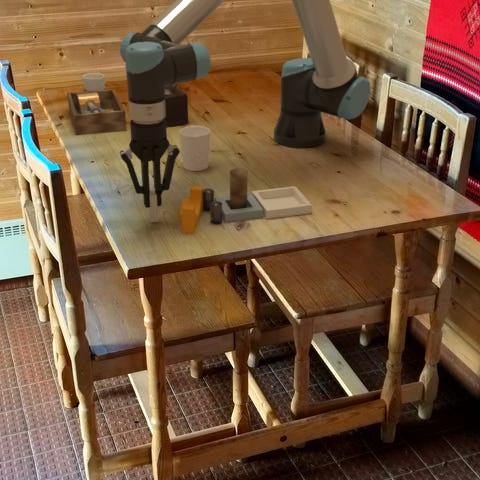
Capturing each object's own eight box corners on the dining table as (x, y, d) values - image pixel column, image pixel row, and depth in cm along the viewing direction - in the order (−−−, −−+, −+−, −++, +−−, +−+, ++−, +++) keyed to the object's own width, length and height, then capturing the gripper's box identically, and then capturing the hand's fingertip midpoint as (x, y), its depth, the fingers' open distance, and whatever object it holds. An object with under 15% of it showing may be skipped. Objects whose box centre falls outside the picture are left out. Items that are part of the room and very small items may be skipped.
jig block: (251, 203, 174) (251, 193, 173) (262, 219, 166) (263, 209, 165) (214, 207, 172) (214, 197, 170) (225, 224, 164) (225, 214, 163)
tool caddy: (115, 107, 237) (114, 89, 234) (126, 130, 217) (125, 111, 215) (69, 111, 233) (67, 92, 230) (75, 135, 214) (73, 115, 211)
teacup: (107, 93, 250) (106, 78, 247) (85, 95, 248) (83, 79, 245) (103, 85, 258) (102, 70, 255) (81, 87, 256) (80, 72, 253)
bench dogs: (212, 207, 172) (212, 187, 169) (223, 225, 164) (223, 205, 161) (201, 208, 171) (201, 189, 169) (212, 226, 163) (211, 206, 161)
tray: (294, 195, 178) (295, 186, 176) (311, 215, 168) (311, 205, 167) (251, 201, 175) (252, 191, 174) (266, 221, 166) (266, 210, 164)
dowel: (244, 206, 171) (244, 167, 166) (249, 214, 168) (249, 174, 163) (227, 208, 170) (227, 169, 165) (232, 216, 167) (232, 176, 162)
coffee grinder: (191, 124, 223) (189, 65, 214) (157, 128, 219) (154, 69, 210) (174, 109, 235) (172, 53, 227) (141, 113, 231) (138, 57, 223)
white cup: (184, 173, 189) (183, 137, 184) (178, 162, 196) (177, 127, 191) (213, 170, 191) (213, 134, 186) (206, 159, 198) (206, 124, 193)
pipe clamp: (185, 210, 171) (184, 185, 167) (203, 211, 170) (202, 186, 167) (174, 234, 160) (173, 208, 157) (193, 235, 160) (193, 209, 157)
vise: (71, 113, 231) (68, 93, 228) (103, 109, 235) (101, 89, 232) (82, 131, 217) (80, 110, 214) (116, 127, 220) (114, 106, 217)
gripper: (119, 127, 147) (127, 230, 159) (182, 121, 151) (185, 222, 162) (114, 115, 154) (122, 215, 165) (174, 110, 157) (178, 208, 168)
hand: (153, 219), depth 163 cm, fingers closed
